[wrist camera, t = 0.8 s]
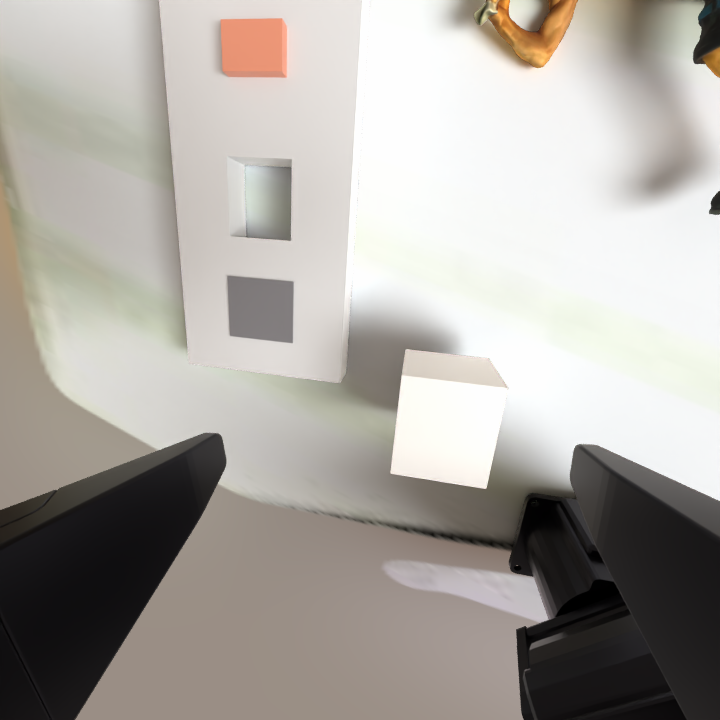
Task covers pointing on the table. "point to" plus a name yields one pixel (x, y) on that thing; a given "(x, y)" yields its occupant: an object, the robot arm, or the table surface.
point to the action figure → (713, 48)
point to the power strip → (266, 148)
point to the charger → (447, 418)
